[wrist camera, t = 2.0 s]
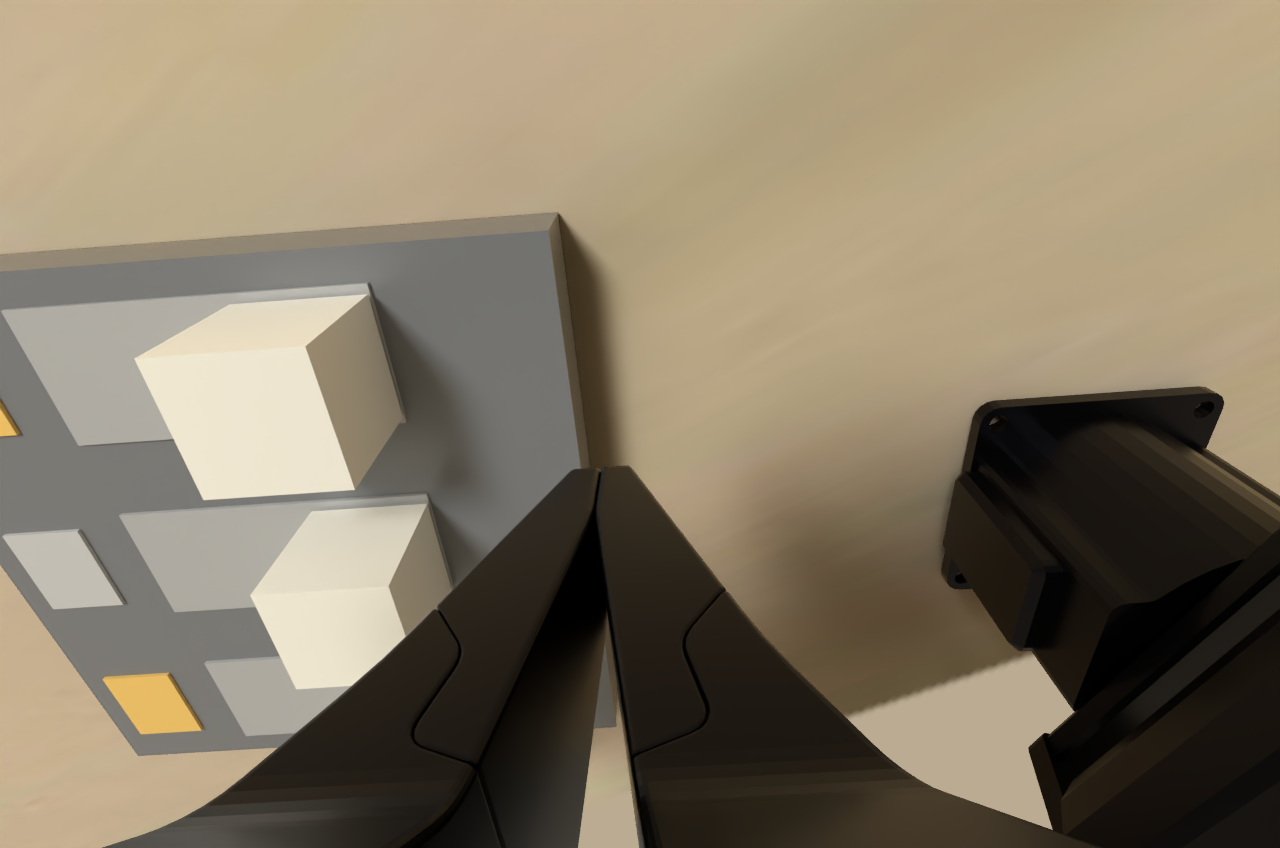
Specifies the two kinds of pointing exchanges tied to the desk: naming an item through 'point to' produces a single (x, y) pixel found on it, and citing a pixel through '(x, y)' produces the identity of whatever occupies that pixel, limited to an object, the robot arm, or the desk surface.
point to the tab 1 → (276, 396)
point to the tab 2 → (350, 590)
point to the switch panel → (262, 526)
